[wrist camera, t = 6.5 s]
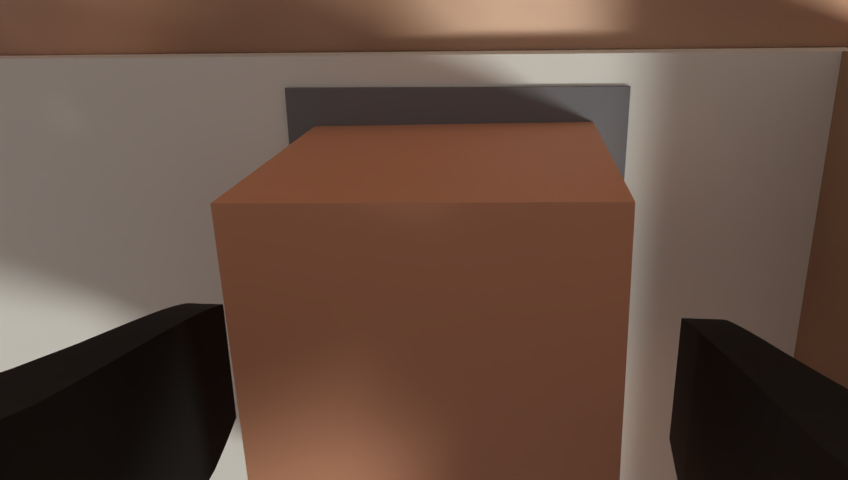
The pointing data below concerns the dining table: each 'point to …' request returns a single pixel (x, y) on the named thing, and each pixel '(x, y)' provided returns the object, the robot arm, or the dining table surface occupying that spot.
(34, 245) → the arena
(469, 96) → the pad
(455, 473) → the bar
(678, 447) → the robot arm
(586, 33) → the dining table surface
